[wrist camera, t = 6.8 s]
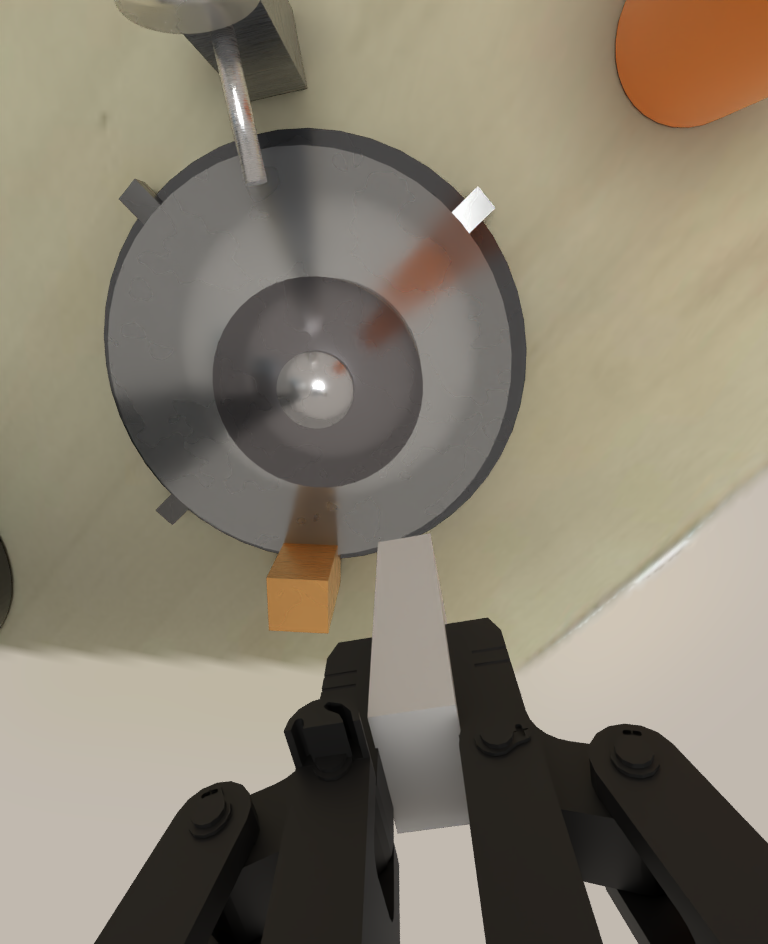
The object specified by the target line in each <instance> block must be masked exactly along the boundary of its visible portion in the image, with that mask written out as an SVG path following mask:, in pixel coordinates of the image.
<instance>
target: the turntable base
mask: <svg viewBox="0 0 768 944" xmlns="http://www.w3.org/2000/svg"><path fill="white" fill-rule="evenodd" d="M257 136H258V141H259V145H260V149H265V148H270V147H277V146H295V145H308V146H319V147H330V148H336V149H340V150H344V151H348V152H352V153H356V154H360V155H363V156H366V157H368V158H371V159H373V160H376V161H378V162H381V163H383V164H385V165H388V166H390V167H392V168H394V169H396V170H397V171H399V172H401V173H402V174H404V175H406V176H407V177H409V178H411V179H413V180H414V181H416V182H417V183H419V184H420V185H421V186H422V187H424V188H425V189H426V190H427V191H429V192H430V193H431V194H433V195H434V196H435V197H436V198H438V199H439V200H440V201H441V202H442V203H443V204H444V205H445V206H446V207H447V208H448V209H449V210H450V211H451V212H453V211H454V210H455V209H456V208H457V207H458V206H459V205H460V204H461V203H462V202H463V201H464V200H465V199H464V198H463V197H462V196H461V195H460V194H459V193H458V192H457V191H456V190H455V189H454V188H453V187H452V186H451V185H450V184H449V183H447V182H446V181H445V180H444V179H442V178H441V177H440V176H439V175H437V174H436V173H435V172H434V171H432V170H431V169H430V168H429V167H427V166H426V165H424V164H422V163H420V162H419V161H417V160H415V159H414V158H412V157H410V156H409V155H407V154H405V153H404V152H402V151H400V150H398V149H395V148H393V147H390V146H388V145H385V144H383V143H381V142H378V141H376V140H373V139H371V138H367V137H363V136H359V135H355V134H350V133H346V132H342V131H335V130H325V129H314V128H301V129H283V130H275V131H270V132H265V133H261V134H257ZM235 156H238V152H237V148H236V144H235V141H234V142H231V143H229V144H226V145H223V146H221V147H218V148H217V149H215V150H213V151H211V152H210V153H208V154H206V155H204V156H203V157H201V158H199V159H197V160H196V161H194V162H192V163H191V164H190V165H189V166H187V167H186V168H185V169H184V170H182V171H181V172H180V173H178V174H177V175H176V176H175V177H173V178H172V179H171V180H170V181H169V182H168V183H167V184H166V185H165V186H164V187H163V188H162V189H161V190H160V191H159V192H158V193H157V196H158V197H159V198H160V199H161V200H162V201H163V202H164V201H165V200H166V199H167V198H168V197H169V196H170V195H171V194H172V193H173V192H174V191H176V190H177V189H178V188H180V187H181V186H182V185H183V184H185V183H186V182H187V181H188V180H190V179H191V178H192V177H194V176H196V175H197V174H199V173H201V172H203V171H204V170H206V169H208V168H210V167H212V166H213V165H215V164H217V163H219V162H222V161H224V160H227V159H230V158H232V157H235ZM143 226H144V224H143V223H142V222H141V221H140V220H139V219H137V221H136V222H135V224H134V225H133V227H132V229H131V231H130V233H129V235H128V237H127V239H126V241H125V243H124V245H123V247H122V249H121V251H120V253H119V256H118V259H117V262H116V265H115V268H114V271H113V274H112V277H111V281H110V286H109V291H108V297H107V302H106V307H105V326H104V343H105V356H106V366H107V371H108V376H109V381H110V386H111V391H112V394H113V397H114V400H115V403H116V406H117V409H118V412H119V415H120V417H121V420H122V422H123V424H124V426H125V428H126V430H127V432H128V435H129V437H130V439H131V441H132V443H133V444H134V446H135V447H136V449H137V451H138V452H139V454H140V455H141V457H142V459H143V460H144V462H145V464H146V465H147V466H148V467H149V465H148V464H147V462H146V461H145V459H144V458H143V456H142V454H141V453H140V451H139V449H138V448H137V446H136V445H135V443H134V441H133V439H132V437H131V435H130V433H129V430H128V428H127V426H126V424H125V422H124V420H123V417H122V414H121V411H120V408H119V405H118V402H117V399H116V396H115V392H114V387H113V382H112V377H111V372H110V364H109V350H108V330H109V314H110V309H111V304H112V298H113V293H114V288H115V285H116V282H117V279H118V276H119V273H120V270H121V267H122V264H123V262H124V260H125V258H126V256H127V254H128V252H129V250H130V248H131V246H132V244H133V242H134V240H135V238H136V236H137V235H138V233H139V232H140V231H141V229H142V228H143ZM469 234H470V235H471V237H472V238H473V240H474V241H475V242H476V244H477V245H478V247H479V248H480V250H481V252H482V254H483V256H484V258H485V260H486V261H487V263H488V265H489V267H490V269H491V271H492V273H493V275H494V278H495V281H496V283H497V286H498V289H499V291H500V294H501V297H502V299H503V303H504V308H505V312H506V316H507V321H508V325H509V333H510V343H511V354H512V358H511V383H510V389H509V395H508V400H507V406H506V410H505V414H504V417H503V420H502V423H501V427H500V430H499V433H498V435H497V438H496V440H495V442H494V444H493V446H492V448H491V451H490V453H489V455H488V457H487V459H486V460H485V462H484V463H483V465H482V466H481V468H480V470H479V471H478V473H477V474H476V476H475V478H474V479H473V480H472V481H471V482H470V484H469V485H468V486H467V487H466V489H465V490H464V491H463V492H462V493H461V495H460V496H459V497H458V498H457V499H456V500H455V501H454V502H452V503H451V504H450V505H449V506H448V507H447V508H446V509H445V510H444V511H443V512H442V513H440V514H439V515H438V516H436V517H435V518H434V519H432V520H431V521H429V522H428V523H427V524H425V525H424V526H422V527H421V528H419V529H417V530H415V531H413V532H411V533H410V534H408V535H406V536H404V537H402V538H406V537H412V536H418V535H421V534H423V533H425V532H427V531H429V530H430V529H432V528H434V527H435V526H436V525H438V524H439V523H441V522H442V521H443V520H445V519H446V518H448V517H449V516H450V515H452V514H453V513H454V512H455V511H456V510H457V509H458V508H459V507H460V506H461V505H463V504H464V503H465V502H466V501H467V500H468V499H469V498H470V497H471V496H472V495H473V493H474V492H475V491H476V490H477V489H478V487H479V486H480V485H481V484H482V483H483V481H484V480H485V479H486V478H487V476H488V475H489V473H490V472H491V470H492V469H493V467H494V465H495V464H496V462H497V461H498V459H499V457H500V456H501V454H502V452H503V450H504V448H505V445H506V443H507V441H508V439H509V437H510V435H511V432H512V430H513V427H514V424H515V420H516V417H517V414H518V411H519V408H520V404H521V398H522V393H523V387H524V381H525V370H526V339H525V327H524V318H523V314H522V309H521V305H520V300H519V296H518V291H517V289H516V286H515V283H514V280H513V278H512V275H511V272H510V269H509V267H508V264H507V262H506V260H505V258H504V256H503V254H502V252H501V250H500V248H499V246H498V245H497V243H496V241H495V239H494V237H493V235H492V234H491V232H490V231H489V229H488V228H487V227H486V225H485V224H484V222H483V221H481V222H480V223H479V224H478V225H477V226H476V227H475V228H474V229H473V230H472V231H471V232H470V233H469ZM149 469H150V470H151V471H152V472H153V470H152V469H151V468H150V467H149ZM153 474H154V475H155V476H156V477H157V475H156V474H155V473H154V472H153ZM157 479H158V480H159V481H160V482H161V480H160V479H159V478H158V477H157ZM161 484H162V485H163V486H164V487H165V488H166V489H167V490H168V491H169V492H170V493H171V494H172V492H171V491H170V490H169V489H168V488H167V487H166V486H165V485H164V484H163V483H162V482H161ZM189 510H190V511H191V512H193V511H192V510H191V509H190V508H189ZM193 513H194V514H195V515H196V516H198V515H197V514H196V513H195V512H193ZM198 517H199V518H200V519H202V520H203V521H205V522H206V523H208V524H210V525H211V526H213V527H214V528H216V529H218V528H217V527H215V526H214V525H212V524H211V523H209V522H207V521H206V520H204V519H203V518H201V517H200V516H198ZM218 530H219V531H221V532H223V533H225V534H227V535H229V536H231V537H233V538H235V539H237V540H239V541H241V542H243V543H246V544H249V545H252V546H255V547H257V548H260V549H263V550H266V551H270V552H274V553H279V552H280V551H276V550H271V549H267V548H263V547H260V546H257V545H255V544H252V543H249V542H246V541H243V540H241V539H239V538H237V537H235V536H232V535H230V534H228V533H226V532H224V531H222V530H220V529H218ZM377 551H378V547H376V548H372V549H368V550H364V551H360V552H355V553H348V554H340V559H341V558H348V557H356V556H363V555H368V554H371V553H375V552H377Z"/></svg>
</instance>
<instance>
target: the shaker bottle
mask: <svg viewBox="0 0 768 944" xmlns="http://www.w3.org/2000/svg"><path fill="white" fill-rule="evenodd" d="M616 63H617V69H618V74H619V78H620V80H621V83H622V86H623V88H624V91H625V93H626V94H627V96H628V97H629V99H630V100H631V102H632V103H633V105H634V106H635V107H636V108H637V109H639V110H640V111H641V112H642V113H643V114H644V115H645V116H647V117H649V118H650V119H652V120H654V121H656V122H657V123H661V124H664V125H668V126H671V127H686V128H688V127H694V126H700V125H704V124H707V123H710V122H712V121H715V120H718V119H720V118H722V117H725V116H727V115H729V114H731V113H734V112H736V111H738V110H740V109H743V108H745V107H747V106H749V105H752V104H754V103H756V102H758V101H761V100H763V99H765V98H768V0H626V2H625V4H624V7H623V10H622V13H621V16H620V19H619V24H618V30H617V36H616Z"/></svg>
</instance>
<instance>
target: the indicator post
mask: <svg viewBox="0 0 768 944" xmlns="http://www.w3.org/2000/svg"><path fill="white" fill-rule="evenodd" d="M115 3H116V6H117V8H118V9H119V11H120V12H121V13H122V14H123V15H124V16H125V17H126V18H127V19H129V20H130V21H132V22H134V23H135V24H137V25H140V26H142V27H145V28H147V29H151V30H155V31H159V32H164V33H173V34H183V35H184V36H185V37H186V38H187V39H188V40H189V41H190V42H191V43H192V44H193V46H194V47H195V48H196V49H197V50H198V51H199V52H200V53H201V54H202V56H203V57H204V58H205V59H206V60H207V61H208V62H209V63H210V64H211V65H212V67H213V68H214V69H215V70H216V71H217V72H218V73H219V74H220V78H221V83H222V87H223V91H224V96H225V100H226V104H227V109H228V113H229V118H230V122H231V126H232V131H233V135H234V139H235V144H236V148H237V152H238V157H239V161H240V165H241V170H242V174H243V179H244V183H245V185H246V186H256V185H261V184H264V183H266V182H267V177H266V173H265V168H264V164H263V159H262V154H261V150H260V145H259V141H258V136H257V131H256V127H255V122H254V118H253V113H252V108H251V104H250V101H253V100H258V99H262V98H267V97H271V96H275V95H280V94H284V93H289V92H293V91H298V90H302V89H307V85H306V80H305V74H304V69H303V64H302V58H301V53H300V48H299V42H298V37H297V32H296V26H295V21H294V16H293V11H292V8H291V6H290V4H289V1H288V0H115Z"/></svg>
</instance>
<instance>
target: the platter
mask: <svg viewBox="0 0 768 944" xmlns="http://www.w3.org/2000/svg"><path fill="white" fill-rule="evenodd" d="M260 150H261V154H262V159H263V164H264V168H265V173H266V177H267V182H266V183H264V184H261V185H256V186H246V185H245V183H244V179H243V174H242V170H241V165H240V161H239V157H238V156H235V157H232V158H230V159H227V160H224V161H222V162H219V163H217V164H215V165H213V166H212V167H210V168H208V169H206V170H204V171H203V172H201V173H199V174H197V175H196V176H194V177H192V178H191V179H190V180H188V181H187V182H186V183H185V184H183V185H182V186H181V187H180V188H178V189H177V190H176V191H174V192H173V193H172V194H171V195H170V196H169V197H168V198H167V199H166V200H165V201H164V202H163V201H162V200H161V199H160V198H159V197H158V196H157V195H156V193H155V192H154V191H153V190H152V189H151V188H150V187H149V186H148V185H147V184H146V183H145V182H142V181H140V180H137V179H134V180H133V181H132V183H131V184H130V185H129V187H128V188H127V189H126V190H125V192H124V193H123V194H122V196H121V197H120V198H119V200H120V201H121V202H122V203H123V204H124V205H125V206H126V207H127V208H128V209H129V210H130V211H131V212H132V213H133V214H134V215H135V216H136V217H137V218H138V219H139V220H140V221H141V222H142V223H143V224H144V226H143V228H142V229H141V231H140V232H139V233H138V235H137V236H136V238H135V240H134V242H133V244H132V246H131V248H130V250H129V252H128V254H127V256H126V258H125V260H124V262H123V264H122V267H121V270H120V273H119V276H118V279H117V282H116V285H115V288H114V293H113V298H112V304H111V309H110V314H109V330H108V350H109V364H110V372H111V377H112V382H113V387H114V392H115V396H116V399H117V402H118V405H119V408H120V411H121V414H122V417H123V420H124V422H125V424H126V426H127V428H128V430H129V433H130V435H131V437H132V439H133V441H134V443H135V445H136V446H137V448H138V449H139V451H140V453H141V454H142V456H143V458H144V459H145V461H146V462H147V464H148V465H149V467H150V468H151V469H152V470H153V472H154V473H155V474H156V475H157V477H158V478H159V479H160V480H161V482H162V483H163V484H164V485H165V486H166V487H167V488H168V489H169V490H170V491H171V492H172V494H171V495H170V496H169V497H168V498H167V499H166V500H165V501H164V502H163V503H162V504H161V505H160V506H159V507H158V508H157V509H156V511H157V512H158V513H159V514H160V515H162V516H163V517H164V518H165V519H166V520H167V521H168V522H169V523H171V524H172V525H173V524H174V523H175V522H176V521H177V520H178V519H179V518H180V517H181V516H182V515H183V514H184V513H185V512H186V511H187V510H188V509H189V508H190V509H191V510H192V511H193V512H195V513H196V514H197V515H198V516H200V517H201V518H203V519H204V520H206V521H207V522H209V523H211V524H212V525H214V526H215V527H217V528H218V529H220V530H222V531H224V532H226V533H228V534H230V535H232V536H235V537H237V538H239V539H241V540H243V541H246V542H249V543H252V544H255V545H257V546H260V547H263V548H267V549H271V550H276V551H280V552H279V554H278V556H277V558H276V560H275V562H274V564H273V566H272V568H271V570H270V572H269V574H268V576H267V578H266V579H267V599H268V619H269V630H271V631H291V632H310V633H328V632H329V628H330V624H331V620H332V615H333V611H334V607H335V603H336V599H337V594H338V590H339V586H340V554H348V553H355V552H360V551H364V550H368V549H372V548H376V547H378V542H383V541H389V540H395V539H400V538H402V537H404V536H406V535H408V534H410V533H411V532H413V531H415V530H417V529H419V528H421V527H422V526H424V525H425V524H427V523H428V522H429V521H431V520H432V519H434V518H435V517H436V516H438V515H439V514H440V513H442V512H443V511H444V510H445V509H446V508H447V507H448V506H449V505H450V504H451V503H452V502H454V501H455V500H456V499H457V498H458V497H459V496H460V495H461V493H462V492H463V491H464V490H465V489H466V487H467V486H468V485H469V484H470V482H471V481H472V480H473V479H474V478H475V476H476V474H477V473H478V471H479V470H480V468H481V466H482V465H483V463H484V462H485V460H486V459H487V457H488V455H489V453H490V451H491V448H492V446H493V444H494V442H495V440H496V438H497V435H498V433H499V430H500V427H501V423H502V420H503V417H504V414H505V410H506V406H507V400H508V395H509V389H510V383H511V358H512V354H511V343H510V333H509V325H508V321H507V316H506V312H505V308H504V303H503V299H502V297H501V294H500V291H499V289H498V286H497V283H496V281H495V278H494V275H493V273H492V271H491V269H490V267H489V265H488V263H487V261H486V260H485V258H484V256H483V254H482V252H481V250H480V248H479V247H478V245H477V244H476V242H475V241H474V240H473V238H472V237H471V235H470V234H469V233H470V232H471V231H472V230H473V229H474V228H475V227H476V226H477V225H478V224H479V223H480V222H481V221H482V220H483V219H485V218H486V217H487V216H488V215H489V214H490V213H491V212H492V211H493V210H494V209H495V207H494V205H493V204H492V203H491V202H490V200H489V199H488V198H487V197H486V196H485V194H484V193H483V192H482V191H481V189H480V188H479V187H477V188H476V189H475V190H474V191H473V192H472V193H471V194H470V195H469V196H468V197H467V198H466V199H465V200H464V201H463V202H462V203H461V204H460V205H459V206H458V207H457V208H456V209H455V210H454V211H453V212H451V211H450V210H449V209H448V208H447V207H446V206H445V205H444V204H443V203H442V202H441V201H440V200H439V199H438V198H436V197H435V196H434V195H433V194H431V193H430V192H429V191H427V190H426V189H425V188H424V187H422V186H421V185H420V184H419V183H417V182H416V181H414V180H413V179H411V178H409V177H407V176H406V175H404V174H402V173H401V172H399V171H397V170H396V169H394V168H392V167H390V166H388V165H385V164H383V163H381V162H378V161H376V160H373V159H371V158H368V157H366V156H363V155H360V154H356V153H352V152H348V151H344V150H340V149H336V148H330V147H319V146H308V145H295V146H277V147H270V148H265V149H260ZM310 276H319V277H330V278H339V279H345V280H349V281H353V282H357V283H359V284H361V285H364V286H366V287H368V288H370V289H372V290H374V291H375V292H377V293H379V294H380V295H381V296H383V297H384V298H385V299H387V300H388V301H389V302H390V303H391V304H392V305H393V306H394V307H395V308H396V309H397V310H398V311H399V312H400V314H401V315H402V316H403V318H404V319H405V320H406V322H407V324H408V326H409V327H410V329H411V331H412V333H413V336H414V338H415V341H416V343H417V347H418V351H419V354H420V362H421V369H422V377H423V397H422V404H421V410H420V413H419V417H418V421H417V423H416V425H415V428H414V430H413V433H412V434H411V436H410V438H409V439H408V441H407V443H406V445H405V446H404V447H403V448H402V450H401V451H400V452H399V453H398V455H397V456H396V457H395V458H394V459H393V460H392V461H391V462H390V463H389V464H387V465H386V466H385V467H383V468H382V469H381V470H379V471H378V472H376V473H374V474H373V475H371V476H369V477H367V478H365V479H362V480H360V481H357V482H355V483H351V484H347V485H343V486H337V487H309V486H302V485H298V484H294V483H290V482H288V481H285V480H282V479H280V478H277V477H276V476H274V475H272V474H270V473H268V472H266V471H265V470H263V469H262V468H260V467H259V466H257V465H256V464H255V463H254V462H253V461H251V460H250V459H249V458H248V457H247V456H246V455H245V454H244V453H243V452H242V451H241V450H240V449H239V448H238V446H237V445H236V444H235V442H234V441H233V440H232V438H231V437H230V435H229V434H228V432H227V430H226V428H225V426H224V424H223V423H222V420H221V417H220V415H219V412H218V410H217V406H216V402H215V398H214V391H213V363H214V356H215V352H216V349H217V345H218V342H219V339H220V337H221V335H222V333H223V330H224V328H225V327H226V325H227V324H228V322H229V320H230V319H231V317H232V316H233V315H234V314H235V312H236V311H237V310H238V309H239V307H240V306H242V305H243V304H244V303H245V302H246V301H247V300H248V299H249V298H250V297H252V296H253V295H255V294H256V293H258V292H259V291H261V290H262V289H264V288H266V287H268V286H271V285H273V284H275V283H278V282H281V281H284V280H287V279H292V278H298V277H310Z"/></svg>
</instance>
